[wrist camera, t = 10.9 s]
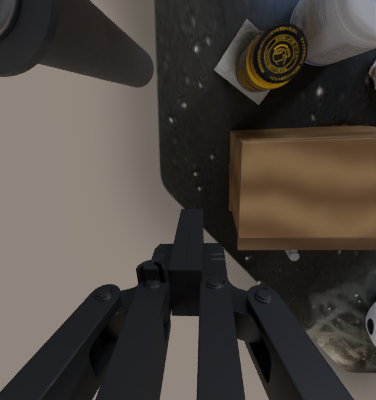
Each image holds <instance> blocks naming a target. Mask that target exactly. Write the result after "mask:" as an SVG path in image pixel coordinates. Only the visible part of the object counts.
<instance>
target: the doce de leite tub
mask: <svg viewBox="0 0 376 400" xmlns="http://www.w3.org/2000/svg"><path fill="white" fill-rule="evenodd" d="M365 322H366V329H367V332H368V334H369V336H370V338H371V340H372V342H373V343H374V345H375V346H376V300H375V302H374V303H373V304H372V305H371V306H370V307H369V309H368V311H367V314H366V317H365Z"/></svg>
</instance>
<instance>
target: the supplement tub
mask: <svg viewBox="0 0 376 400" xmlns="http://www.w3.org/2000/svg"><path fill="white" fill-rule="evenodd" d="M290 23H291V24H294V25H296V26H297V27H298V28H300V29H301V30H302V31H303V32H304V35H305V37H306V40H307V43H308V49H307V58H306V60H305V63H307V64H309V65H314V66H324V65H329V64H332V63H335V62H338V61H341V60H344V59H346V58H349V57H352V56H355V55H358V54H361V53H364V52H366V51H369V50H372V49H375V48H376V0H299V2H298V3H297V5H296V7H295V9H294V11H293V13H292V16H291V20H290Z"/></svg>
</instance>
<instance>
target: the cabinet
mask: <svg viewBox="0 0 376 400" xmlns="http://www.w3.org/2000/svg"><path fill="white" fill-rule="evenodd" d="M229 211H232V214H233V218H234V222H235V226H236V230H237V234H238V237H237V247H238V250H376V127H372V126H364V125H355V126H331V127H306V128H281V129H257V130H232V131H230V174H229Z"/></svg>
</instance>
